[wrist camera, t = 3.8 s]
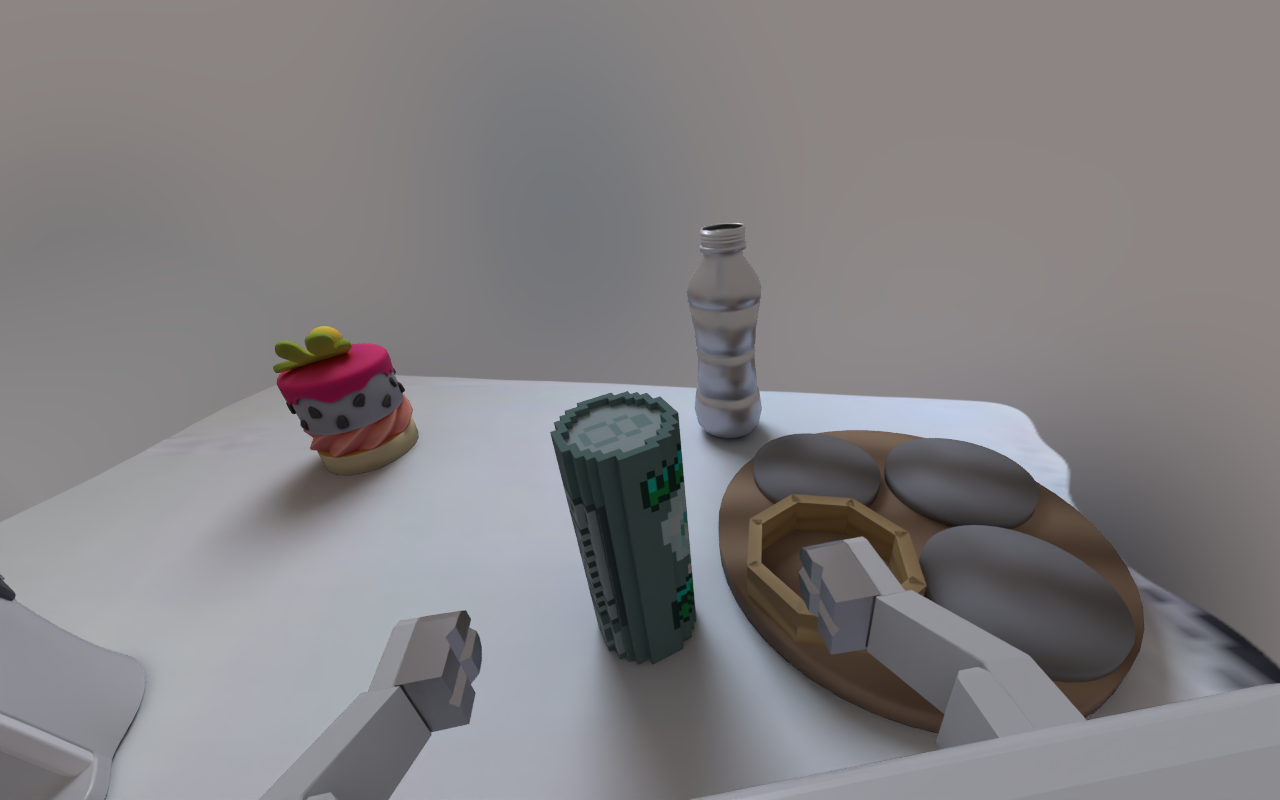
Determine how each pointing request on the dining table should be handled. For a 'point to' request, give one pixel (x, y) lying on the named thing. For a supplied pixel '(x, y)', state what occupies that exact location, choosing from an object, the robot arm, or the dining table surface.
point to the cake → (346, 401)
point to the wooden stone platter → (929, 559)
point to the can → (630, 519)
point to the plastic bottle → (725, 332)
